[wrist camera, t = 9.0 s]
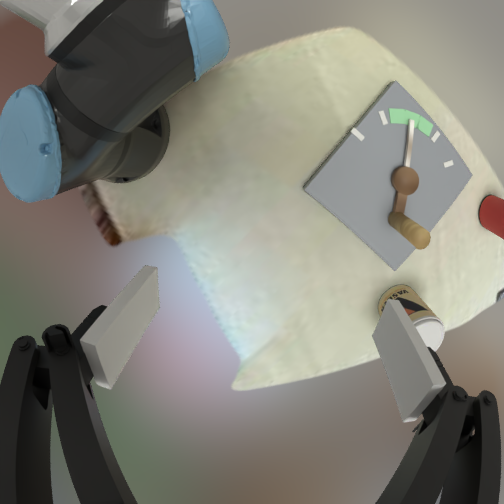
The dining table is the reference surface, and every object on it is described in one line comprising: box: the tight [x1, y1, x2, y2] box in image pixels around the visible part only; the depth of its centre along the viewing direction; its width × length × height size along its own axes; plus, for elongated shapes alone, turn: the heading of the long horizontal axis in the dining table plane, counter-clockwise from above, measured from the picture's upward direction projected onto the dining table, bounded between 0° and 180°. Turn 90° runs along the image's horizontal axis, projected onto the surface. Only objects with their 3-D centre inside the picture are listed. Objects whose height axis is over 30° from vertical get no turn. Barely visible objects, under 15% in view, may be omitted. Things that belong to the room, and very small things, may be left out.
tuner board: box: [303, 81, 472, 271], centre depth 35 cm, size 20×22×2 cm
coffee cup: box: [378, 285, 444, 351], centre depth 38 cm, size 9×9×12 cm
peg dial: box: [388, 119, 431, 249], centre depth 29 cm, size 16×4×9 cm, turn 176°
